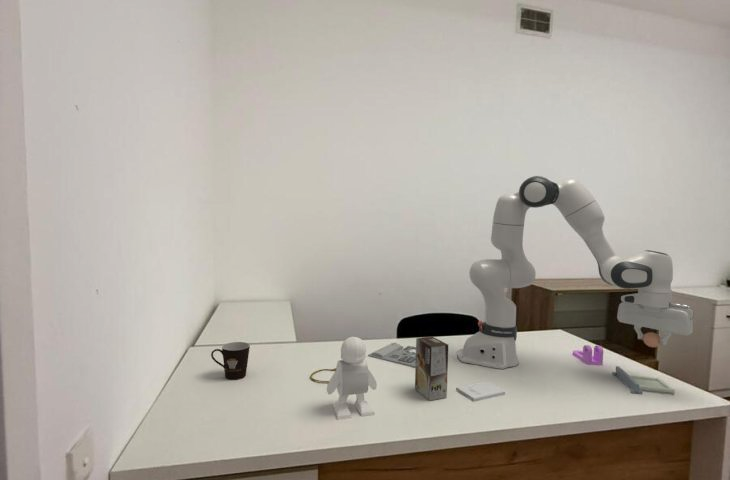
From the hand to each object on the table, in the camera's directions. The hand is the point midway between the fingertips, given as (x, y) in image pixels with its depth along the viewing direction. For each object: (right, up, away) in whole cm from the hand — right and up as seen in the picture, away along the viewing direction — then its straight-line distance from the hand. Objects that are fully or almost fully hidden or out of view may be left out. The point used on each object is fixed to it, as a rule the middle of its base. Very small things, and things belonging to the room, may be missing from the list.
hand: (651, 341), depth 126 cm
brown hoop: (-105, -13, +2) cm, 106 cm away
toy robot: (-98, -13, -21) cm, 101 cm away
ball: (0, -2, 0) cm, 2 cm away
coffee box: (-75, -13, -9) cm, 76 cm away
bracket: (-7, -14, +26) cm, 30 cm away
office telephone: (-79, -13, +24) cm, 83 cm away
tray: (0, -15, +1) cm, 15 cm away
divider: (-7, -15, +2) cm, 16 cm away
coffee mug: (-138, -11, 0) cm, 139 cm away
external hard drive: (-59, -14, -8) cm, 61 cm away
